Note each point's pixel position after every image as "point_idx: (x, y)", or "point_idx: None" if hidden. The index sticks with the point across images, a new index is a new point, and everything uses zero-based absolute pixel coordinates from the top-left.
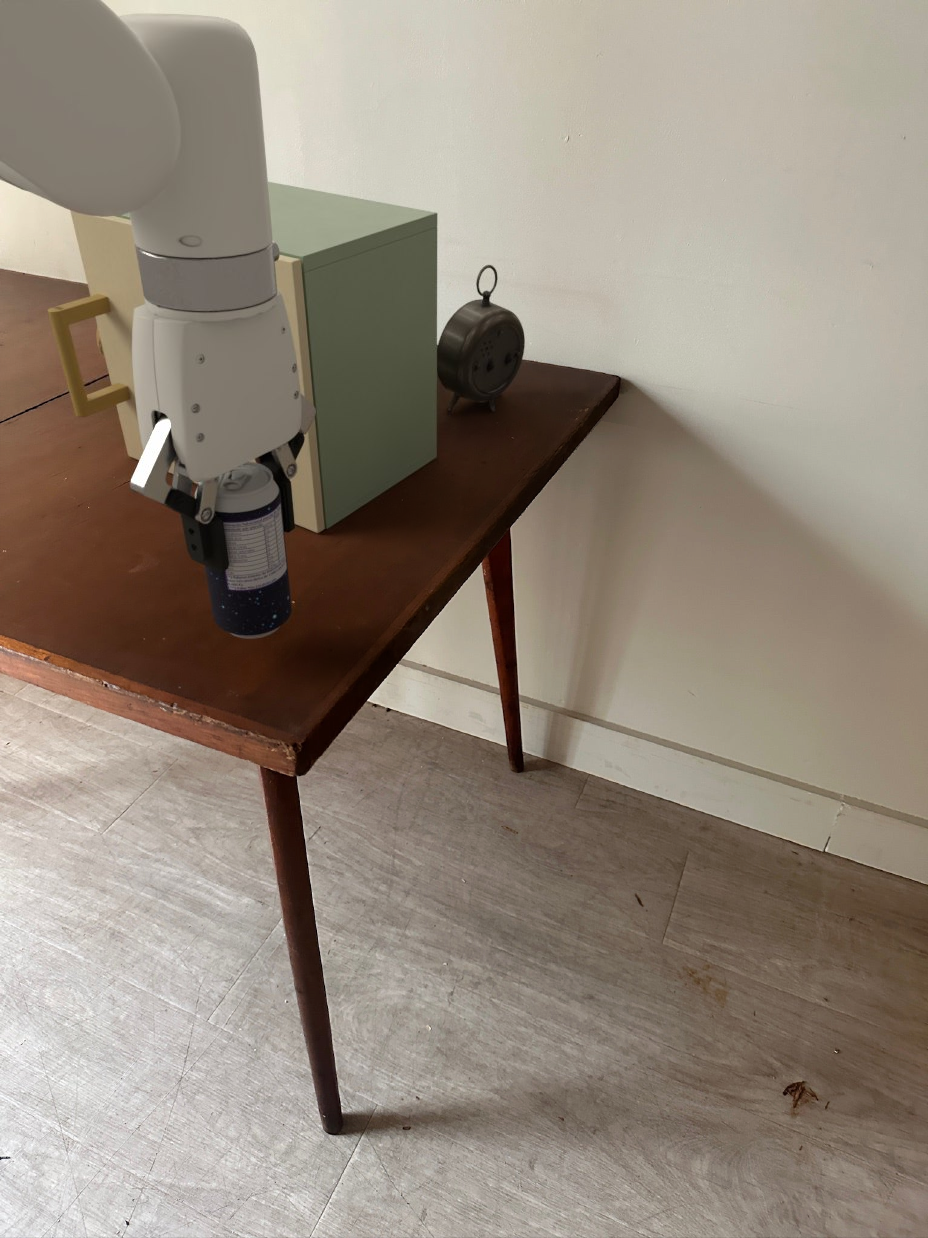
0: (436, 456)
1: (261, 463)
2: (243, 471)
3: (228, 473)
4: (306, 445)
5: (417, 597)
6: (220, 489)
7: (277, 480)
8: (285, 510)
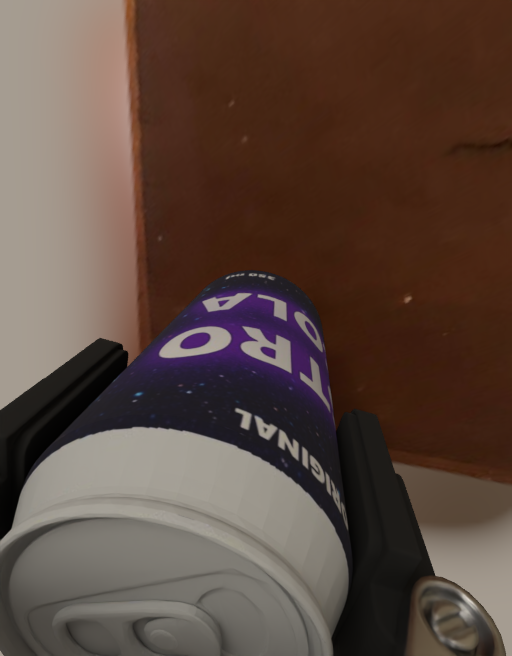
0: None
1: (392, 641)
2: (254, 626)
3: (192, 592)
4: None
5: (465, 465)
6: (51, 608)
7: (336, 645)
8: None
